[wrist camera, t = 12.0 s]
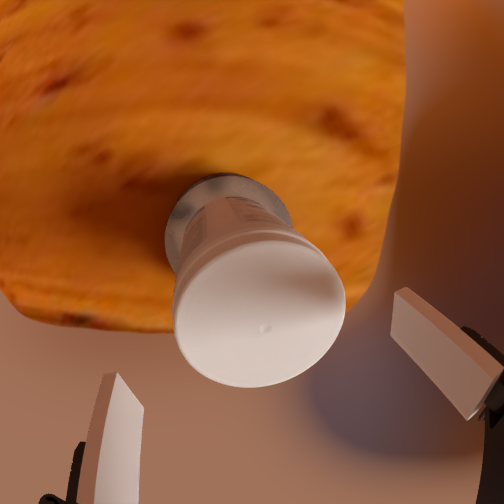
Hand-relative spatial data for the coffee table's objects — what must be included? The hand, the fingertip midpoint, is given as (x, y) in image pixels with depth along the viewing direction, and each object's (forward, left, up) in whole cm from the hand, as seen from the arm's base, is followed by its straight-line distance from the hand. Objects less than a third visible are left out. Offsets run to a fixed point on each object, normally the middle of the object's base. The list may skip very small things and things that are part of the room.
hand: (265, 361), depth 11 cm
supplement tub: (0, 0, -17) cm, 17 cm away
